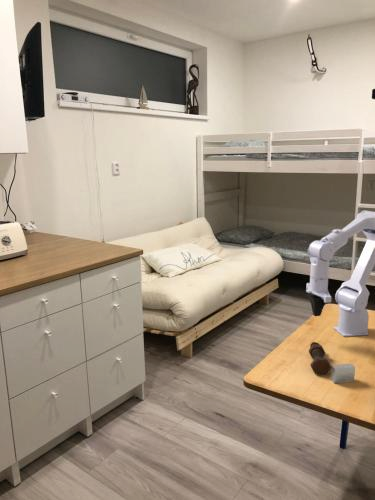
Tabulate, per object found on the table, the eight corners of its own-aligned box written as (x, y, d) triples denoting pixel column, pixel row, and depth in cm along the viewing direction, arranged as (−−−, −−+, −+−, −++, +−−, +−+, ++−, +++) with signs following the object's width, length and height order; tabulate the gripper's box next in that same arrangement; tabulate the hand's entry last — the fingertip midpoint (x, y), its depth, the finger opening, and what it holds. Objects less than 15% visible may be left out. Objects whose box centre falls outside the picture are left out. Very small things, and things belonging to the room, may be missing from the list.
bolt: (316, 356, 134) (323, 379, 119) (303, 348, 134) (308, 370, 119) (327, 342, 132) (334, 364, 118) (313, 334, 132) (319, 355, 118)
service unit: (350, 377, 118) (351, 363, 116) (354, 381, 115) (355, 367, 114) (330, 379, 117) (331, 364, 116) (333, 383, 115) (335, 368, 114)
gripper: (298, 271, 142) (297, 308, 145) (317, 284, 128) (314, 324, 131) (318, 270, 143) (315, 306, 146) (338, 283, 129) (335, 323, 132)
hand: (316, 315), depth 138 cm, fingers closed
